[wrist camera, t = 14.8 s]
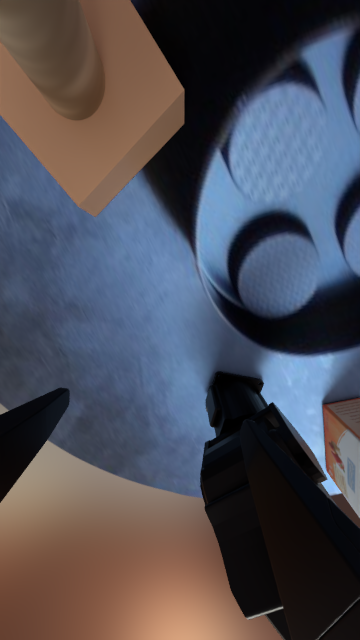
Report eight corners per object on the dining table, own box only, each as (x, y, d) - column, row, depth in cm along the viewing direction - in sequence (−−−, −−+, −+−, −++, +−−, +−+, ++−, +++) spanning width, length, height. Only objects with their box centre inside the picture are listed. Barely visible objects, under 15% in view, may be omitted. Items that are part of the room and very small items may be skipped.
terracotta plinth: (87, -30, 13) (59, -116, 10) (184, 123, 15) (184, 89, 13) (-2, 101, 15) (-45, 62, 12) (95, 217, 18) (78, 206, 15)
